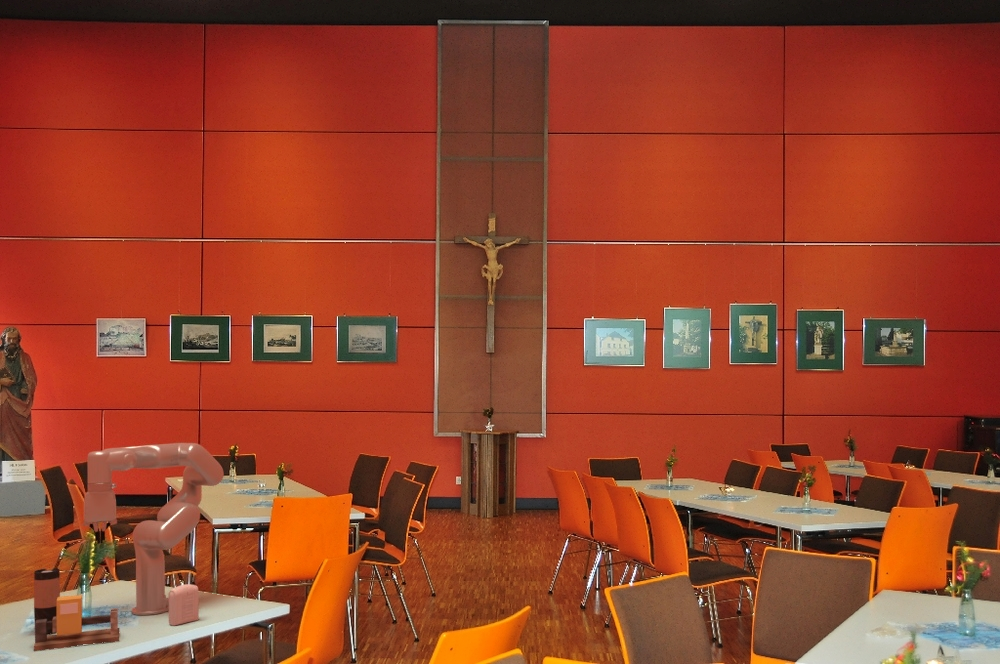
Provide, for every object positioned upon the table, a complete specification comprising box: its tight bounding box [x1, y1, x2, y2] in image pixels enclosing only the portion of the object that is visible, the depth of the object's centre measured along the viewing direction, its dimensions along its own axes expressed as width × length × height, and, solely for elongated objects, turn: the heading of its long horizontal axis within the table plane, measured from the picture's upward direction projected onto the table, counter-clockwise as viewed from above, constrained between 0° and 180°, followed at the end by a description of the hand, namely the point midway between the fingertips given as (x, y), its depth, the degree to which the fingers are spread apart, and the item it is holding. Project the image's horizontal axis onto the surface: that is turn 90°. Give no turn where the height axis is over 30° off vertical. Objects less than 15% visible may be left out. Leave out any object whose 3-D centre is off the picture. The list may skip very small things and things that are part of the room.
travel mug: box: [33, 567, 61, 635], centre depth 313 cm, size 8×8×20 cm
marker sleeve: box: [56, 594, 83, 635], centre depth 300 cm, size 7×6×11 cm
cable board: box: [33, 607, 120, 652], centre depth 301 cm, size 24×12×8 cm, turn 111°
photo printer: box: [168, 583, 200, 626], centre depth 322 cm, size 10×4×12 cm, turn 144°
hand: (100, 542), depth 323 cm, fingers closed
